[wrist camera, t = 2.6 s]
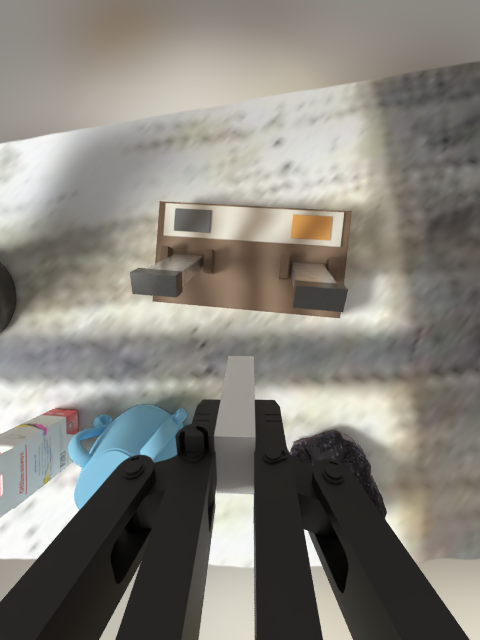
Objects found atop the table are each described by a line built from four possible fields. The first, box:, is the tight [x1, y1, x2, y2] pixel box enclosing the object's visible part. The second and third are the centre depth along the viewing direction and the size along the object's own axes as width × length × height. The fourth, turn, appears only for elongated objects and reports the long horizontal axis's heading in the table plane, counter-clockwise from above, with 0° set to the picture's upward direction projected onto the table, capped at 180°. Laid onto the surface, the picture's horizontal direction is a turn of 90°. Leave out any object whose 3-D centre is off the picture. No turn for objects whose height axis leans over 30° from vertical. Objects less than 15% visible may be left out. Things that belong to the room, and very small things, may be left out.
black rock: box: [290, 431, 387, 519], centre depth 37 cm, size 13×14×10 cm
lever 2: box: [291, 262, 348, 312], centre depth 30 cm, size 5×2×12 cm, turn 85°
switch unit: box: [153, 201, 352, 318], centre depth 37 cm, size 26×14×7 cm, turn 85°
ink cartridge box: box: [0, 409, 78, 517], centre depth 38 cm, size 9×5×15 cm, turn 178°
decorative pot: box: [68, 404, 188, 510], centre depth 37 cm, size 16×16×14 cm
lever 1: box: [130, 254, 203, 298], centre depth 31 cm, size 5×2×12 cm, turn 85°
